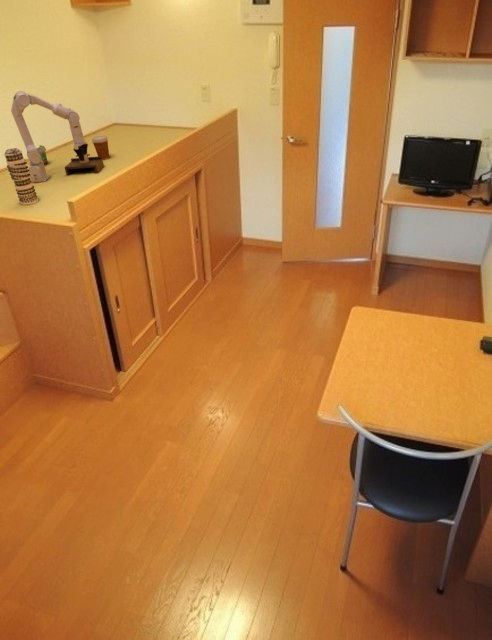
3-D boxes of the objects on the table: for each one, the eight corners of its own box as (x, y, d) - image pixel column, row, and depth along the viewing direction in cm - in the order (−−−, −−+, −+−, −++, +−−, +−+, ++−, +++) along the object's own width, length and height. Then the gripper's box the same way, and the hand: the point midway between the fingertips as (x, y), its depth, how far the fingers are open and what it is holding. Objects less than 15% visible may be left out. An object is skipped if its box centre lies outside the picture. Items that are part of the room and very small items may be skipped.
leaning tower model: (41, 197, 243) (25, 146, 229) (35, 203, 235) (18, 151, 221) (23, 199, 243) (5, 147, 229) (17, 205, 235) (-2, 153, 221)
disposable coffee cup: (93, 159, 295) (87, 139, 288) (103, 155, 302) (98, 135, 295) (104, 160, 291) (100, 140, 284) (115, 156, 298) (110, 136, 291)
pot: (90, 162, 273) (87, 152, 270) (76, 163, 273) (73, 153, 270) (92, 160, 277) (90, 150, 274) (79, 160, 278) (76, 151, 275)
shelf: (97, 173, 270) (95, 162, 267) (66, 175, 272) (63, 165, 268) (104, 166, 281) (101, 156, 278) (74, 168, 282) (71, 158, 279)
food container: (43, 167, 289) (37, 150, 283) (34, 167, 290) (28, 150, 285) (53, 161, 299) (48, 144, 293) (45, 161, 300) (39, 145, 295)
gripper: (80, 136, 261) (86, 162, 268) (88, 130, 273) (94, 155, 280) (67, 137, 261) (74, 163, 269) (76, 131, 273) (82, 155, 281)
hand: (83, 159), depth 274 cm, fingers closed on pot, 5 cm apart
